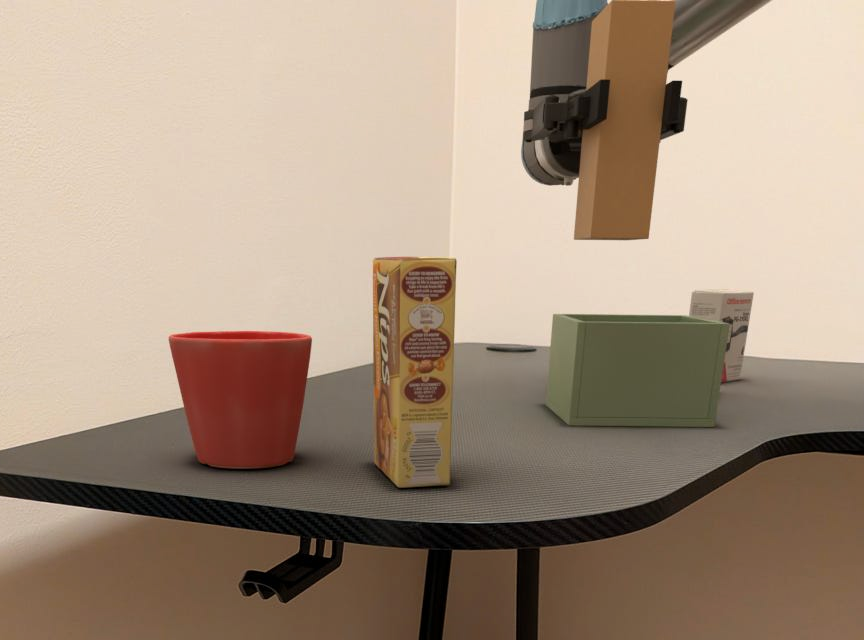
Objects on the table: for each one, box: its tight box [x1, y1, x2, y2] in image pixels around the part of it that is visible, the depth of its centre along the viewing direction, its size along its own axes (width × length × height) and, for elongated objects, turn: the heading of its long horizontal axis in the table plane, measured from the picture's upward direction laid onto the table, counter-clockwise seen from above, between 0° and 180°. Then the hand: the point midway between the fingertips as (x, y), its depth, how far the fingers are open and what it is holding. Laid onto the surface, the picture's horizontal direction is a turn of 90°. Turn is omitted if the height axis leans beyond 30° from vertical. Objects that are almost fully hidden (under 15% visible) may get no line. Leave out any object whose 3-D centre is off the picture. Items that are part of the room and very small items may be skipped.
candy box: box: [372, 256, 458, 489], centre depth 66 cm, size 9×4×15 cm, turn 13°
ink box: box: [688, 288, 754, 383], centre depth 124 cm, size 8×5×12 cm, turn 134°
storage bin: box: [545, 313, 730, 428], centre depth 95 cm, size 15×14×10 cm
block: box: [573, 0, 675, 241], centre depth 77 cm, size 5×7×17 cm
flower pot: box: [168, 330, 313, 470], centre depth 72 cm, size 11×11×10 cm
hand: (639, 99), depth 72 cm, fingers closed on block, 5 cm apart
